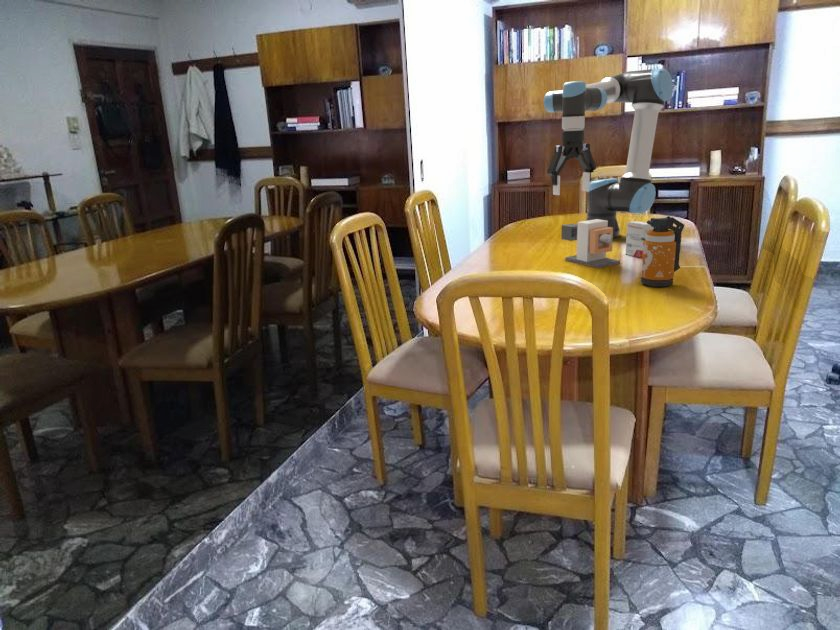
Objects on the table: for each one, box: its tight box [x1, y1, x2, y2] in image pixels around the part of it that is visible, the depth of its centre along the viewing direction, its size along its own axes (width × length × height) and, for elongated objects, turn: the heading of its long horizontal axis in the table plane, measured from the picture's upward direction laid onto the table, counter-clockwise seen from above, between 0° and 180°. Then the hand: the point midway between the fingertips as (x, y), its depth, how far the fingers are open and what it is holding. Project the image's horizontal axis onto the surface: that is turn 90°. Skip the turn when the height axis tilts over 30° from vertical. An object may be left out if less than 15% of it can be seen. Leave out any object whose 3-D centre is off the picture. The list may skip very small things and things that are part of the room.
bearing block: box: [564, 219, 621, 269], centre depth 212 cm, size 16×10×14 cm, turn 30°
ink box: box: [624, 220, 654, 259], centre depth 218 cm, size 8×5×12 cm, turn 26°
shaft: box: [560, 223, 614, 244], centre depth 213 cm, size 20×5×5 cm, turn 30°
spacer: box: [589, 227, 613, 254], centre depth 208 cm, size 2×8×8 cm, turn 120°
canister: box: [640, 215, 686, 288], centre depth 180 cm, size 9×11×20 cm
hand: (571, 193), depth 216 cm, fingers open, 13 cm apart
